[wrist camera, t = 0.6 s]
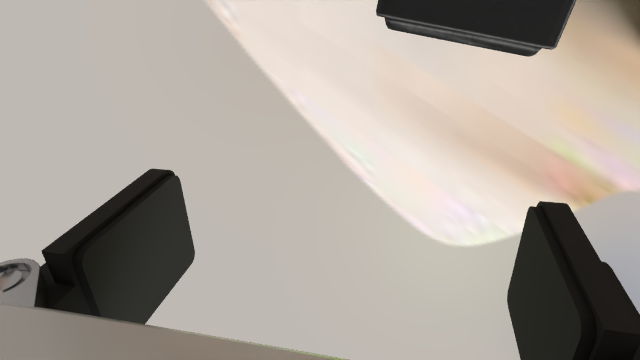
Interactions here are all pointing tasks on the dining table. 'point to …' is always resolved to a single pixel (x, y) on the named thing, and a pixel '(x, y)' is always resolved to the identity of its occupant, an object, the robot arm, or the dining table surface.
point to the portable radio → (482, 22)
